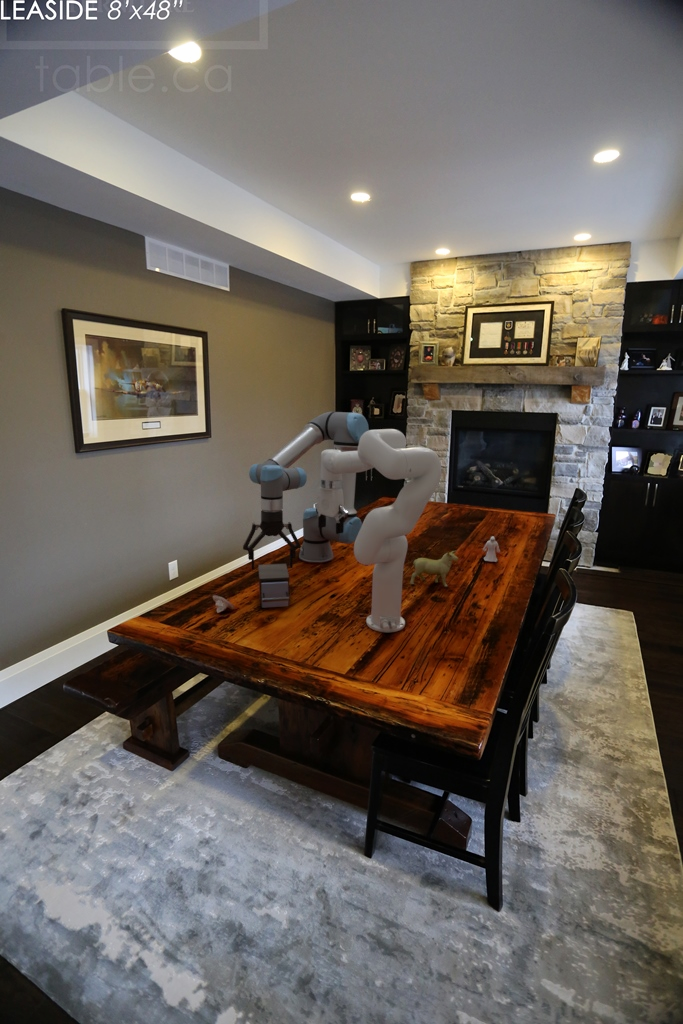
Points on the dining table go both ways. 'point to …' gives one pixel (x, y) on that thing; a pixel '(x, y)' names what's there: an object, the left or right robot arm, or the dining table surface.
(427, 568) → the toy
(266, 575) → the cabinet
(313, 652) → the dining table surface
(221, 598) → the seashell
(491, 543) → the figurine
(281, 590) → the drawer
